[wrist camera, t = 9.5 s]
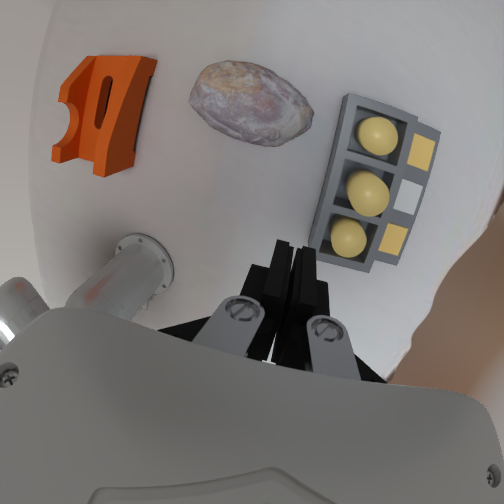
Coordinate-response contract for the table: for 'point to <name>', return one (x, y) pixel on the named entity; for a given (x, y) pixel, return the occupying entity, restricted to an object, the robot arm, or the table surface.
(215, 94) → the stone
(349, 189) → the button mid
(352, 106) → the grey compartment tray
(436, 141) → the strip
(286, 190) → the table surface
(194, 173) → the table surface
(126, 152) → the tape dispenser
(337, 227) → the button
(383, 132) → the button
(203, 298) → the table surface
